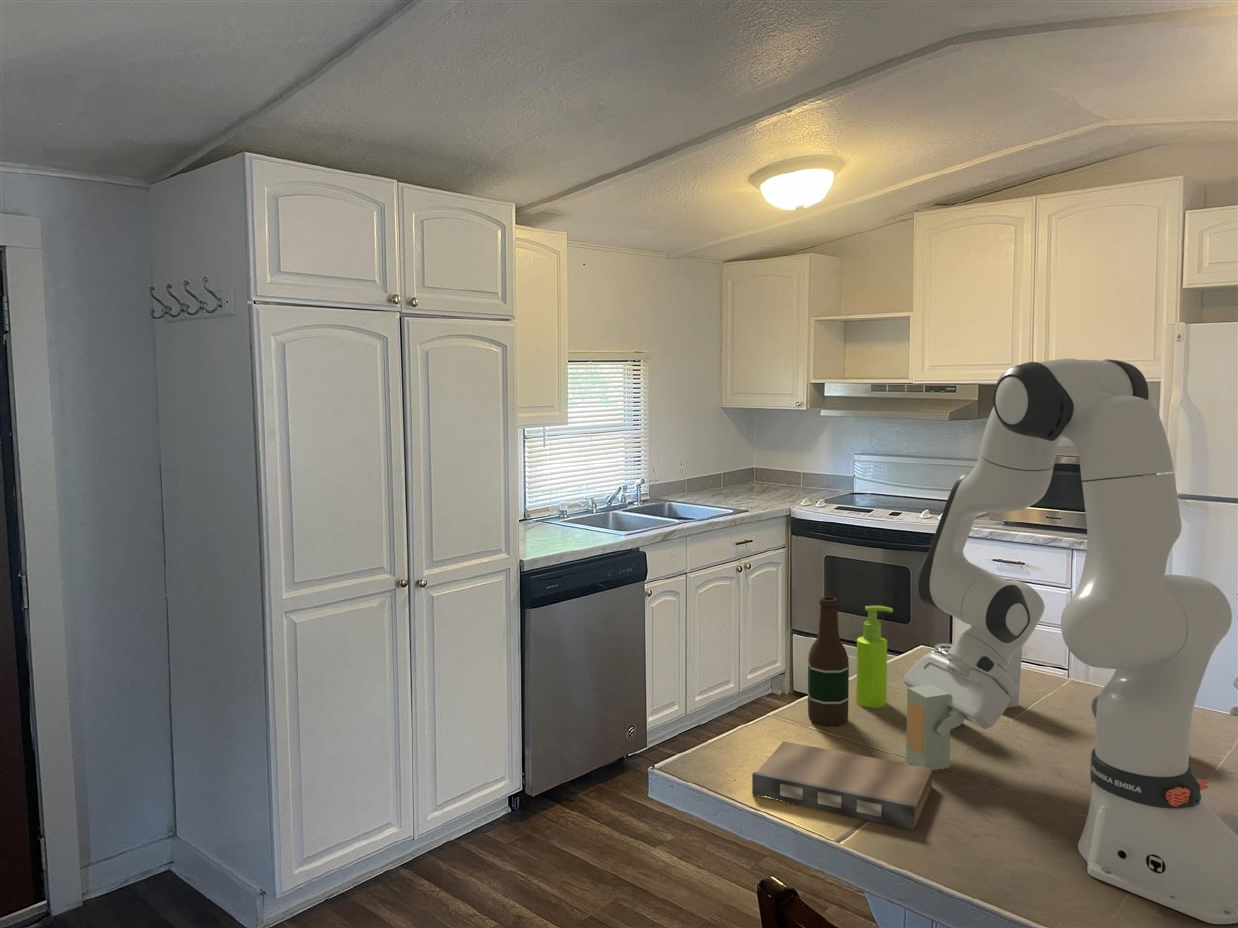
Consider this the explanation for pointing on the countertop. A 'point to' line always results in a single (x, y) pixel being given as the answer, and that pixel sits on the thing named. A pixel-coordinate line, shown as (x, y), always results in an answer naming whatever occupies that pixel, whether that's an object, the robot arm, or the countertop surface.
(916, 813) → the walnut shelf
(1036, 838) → the countertop surface
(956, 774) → the countertop surface
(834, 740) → the countertop surface
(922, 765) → the sage carton
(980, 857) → the countertop surface
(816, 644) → the beer bottle
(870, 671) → the soap dispenser
